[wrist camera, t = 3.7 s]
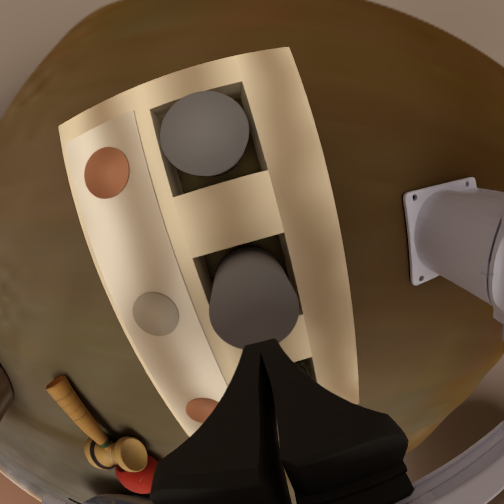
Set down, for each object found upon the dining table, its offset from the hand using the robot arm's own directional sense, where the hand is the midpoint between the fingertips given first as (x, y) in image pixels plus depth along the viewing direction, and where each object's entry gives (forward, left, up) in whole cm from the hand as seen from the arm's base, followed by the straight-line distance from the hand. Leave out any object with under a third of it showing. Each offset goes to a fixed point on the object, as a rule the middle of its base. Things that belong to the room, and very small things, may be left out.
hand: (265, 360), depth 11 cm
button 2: (0, -1, -7) cm, 7 cm away
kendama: (+21, +14, -10) cm, 27 cm away
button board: (+2, -1, -9) cm, 10 cm away
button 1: (0, -10, -9) cm, 13 cm away
